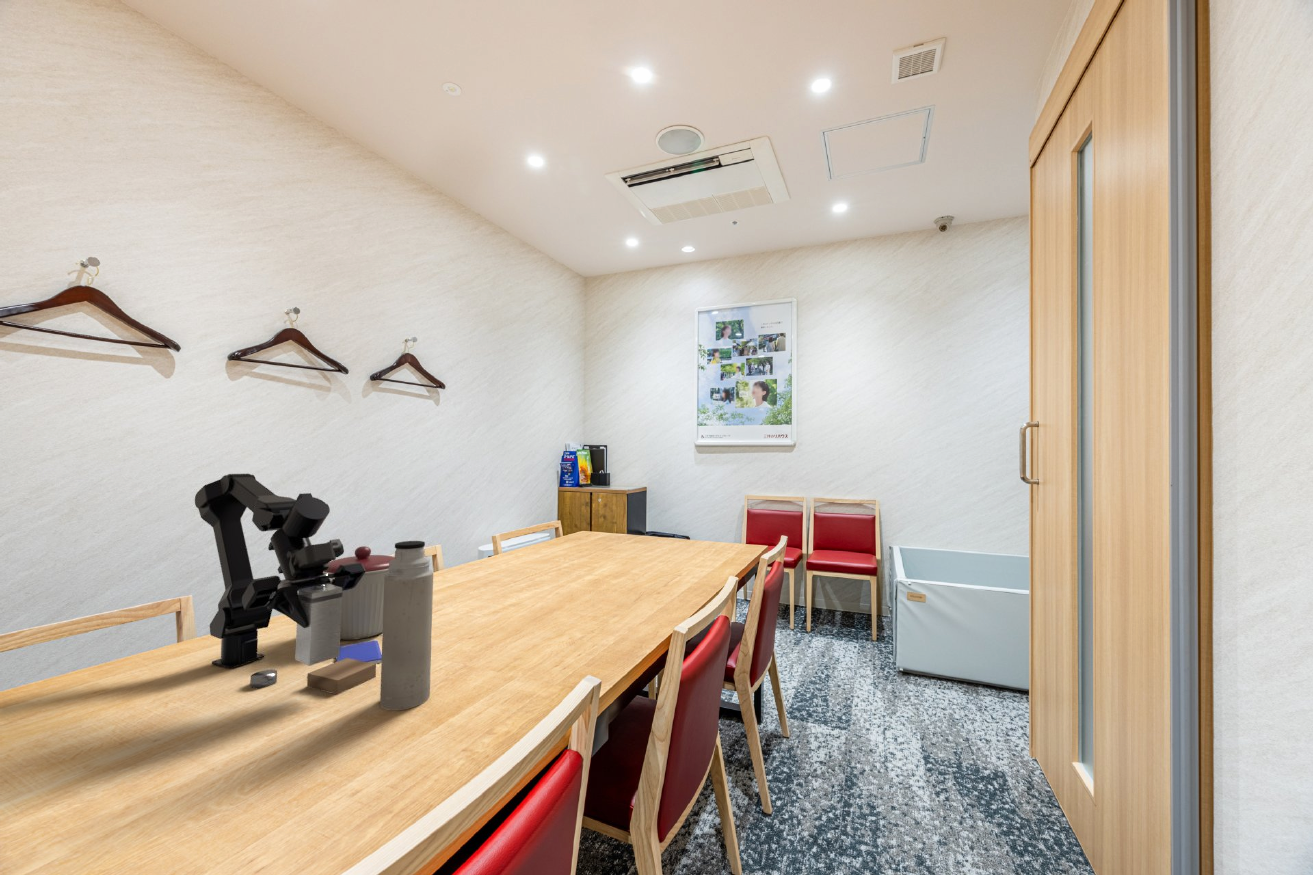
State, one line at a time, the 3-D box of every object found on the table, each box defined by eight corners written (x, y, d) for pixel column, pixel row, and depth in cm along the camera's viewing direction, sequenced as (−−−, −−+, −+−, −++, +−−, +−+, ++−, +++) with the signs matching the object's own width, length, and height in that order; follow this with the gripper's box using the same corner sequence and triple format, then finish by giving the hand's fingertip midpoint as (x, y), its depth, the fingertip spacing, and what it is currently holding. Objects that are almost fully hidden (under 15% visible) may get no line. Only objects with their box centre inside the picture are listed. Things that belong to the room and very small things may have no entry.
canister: (379, 616, 137) (382, 538, 138) (415, 630, 126) (417, 545, 127) (302, 635, 122) (306, 547, 123) (335, 652, 112) (339, 556, 113)
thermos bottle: (405, 686, 96) (410, 537, 97) (439, 693, 93) (443, 539, 94) (369, 705, 88) (374, 543, 89) (405, 713, 85) (410, 546, 87)
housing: (294, 659, 91) (298, 585, 91) (325, 650, 95) (328, 580, 96) (309, 665, 88) (312, 590, 89) (339, 656, 93) (342, 584, 93)
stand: (307, 686, 95) (307, 673, 95) (346, 670, 103) (346, 657, 103) (337, 694, 92) (338, 680, 92) (375, 676, 100) (376, 663, 100)
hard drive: (335, 646, 113) (337, 666, 102) (377, 639, 117) (383, 657, 107) (335, 653, 113) (337, 674, 102) (377, 646, 117) (382, 665, 107)
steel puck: (244, 688, 94) (244, 677, 95) (262, 679, 98) (263, 668, 99) (264, 689, 94) (264, 678, 94) (282, 680, 98) (282, 669, 98)
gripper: (252, 532, 87) (280, 608, 81) (362, 521, 103) (392, 584, 97) (230, 572, 91) (255, 648, 84) (340, 556, 107) (367, 618, 100)
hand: (323, 622), depth 91 cm, fingers closed on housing, 5 cm apart
